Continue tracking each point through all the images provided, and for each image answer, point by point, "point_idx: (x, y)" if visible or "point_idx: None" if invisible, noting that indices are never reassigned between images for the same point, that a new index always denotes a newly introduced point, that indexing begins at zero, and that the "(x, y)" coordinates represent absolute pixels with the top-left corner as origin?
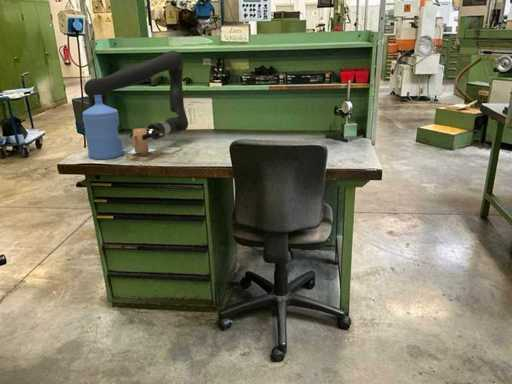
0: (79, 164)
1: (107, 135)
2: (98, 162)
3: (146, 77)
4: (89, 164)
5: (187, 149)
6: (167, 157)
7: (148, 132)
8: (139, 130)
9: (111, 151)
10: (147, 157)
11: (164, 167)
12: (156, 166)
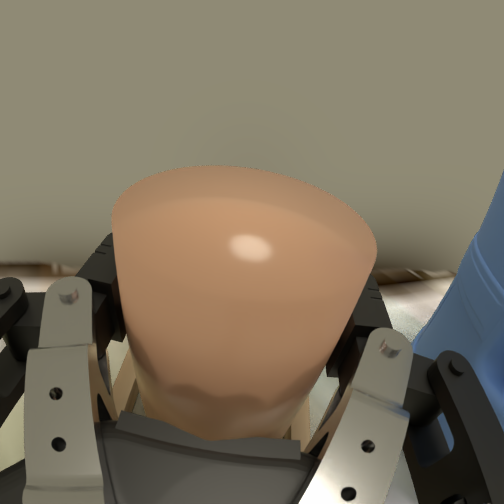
0: (423, 280)
1: (475, 240)
2: (392, 308)
3: None
4: (394, 284)
5: None
6: (10, 443)
7: (131, 416)
8: (211, 178)
9: (420, 342)
10: (127, 353)
11: (22, 266)
12: (56, 276)
